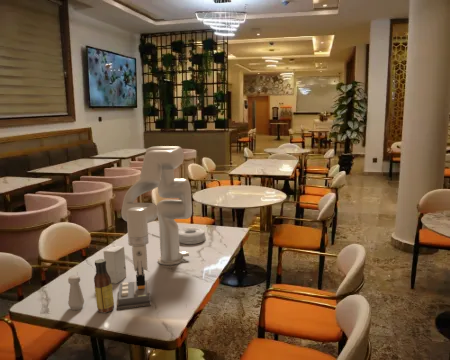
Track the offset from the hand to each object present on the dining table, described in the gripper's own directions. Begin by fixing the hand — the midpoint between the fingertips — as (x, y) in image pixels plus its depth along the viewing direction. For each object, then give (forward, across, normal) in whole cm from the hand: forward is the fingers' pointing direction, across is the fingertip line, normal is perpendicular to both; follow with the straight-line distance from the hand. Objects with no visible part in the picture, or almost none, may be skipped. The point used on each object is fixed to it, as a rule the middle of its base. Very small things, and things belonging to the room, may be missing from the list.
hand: (140, 284), depth 152 cm
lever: (+5, +8, 0) cm, 10 cm away
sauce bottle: (+9, 0, +14) cm, 16 cm away
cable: (+8, +73, -30) cm, 80 cm away
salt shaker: (+9, +4, +25) cm, 27 cm away
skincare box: (+8, +28, +11) cm, 31 cm away
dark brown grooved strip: (+8, 0, +3) cm, 9 cm away
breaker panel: (+8, +8, +3) cm, 12 cm away
